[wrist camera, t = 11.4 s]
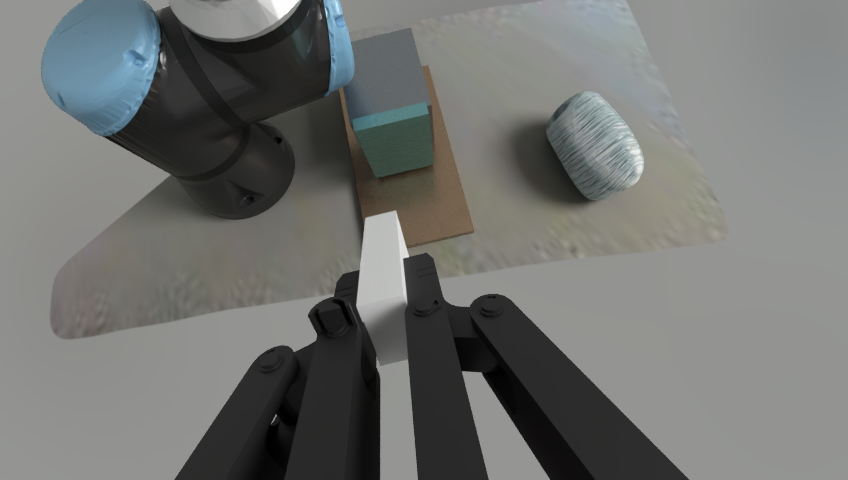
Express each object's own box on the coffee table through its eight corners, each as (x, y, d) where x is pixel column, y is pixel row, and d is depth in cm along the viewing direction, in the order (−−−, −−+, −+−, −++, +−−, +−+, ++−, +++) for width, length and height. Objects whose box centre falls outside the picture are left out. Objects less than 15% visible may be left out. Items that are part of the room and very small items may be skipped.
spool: (521, 117, 45) (586, 72, 37) (567, 113, 50) (635, 73, 41) (551, 215, 45) (624, 193, 36) (595, 202, 49) (669, 180, 41)
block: (433, 164, 46) (428, 113, 35) (376, 178, 46) (354, 131, 36) (411, 78, 50) (401, 9, 39) (358, 91, 50) (334, 25, 40)
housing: (473, 232, 45) (479, 208, 36) (370, 256, 45) (352, 238, 37) (428, 70, 53) (424, 18, 44) (340, 91, 53) (319, 43, 44)
